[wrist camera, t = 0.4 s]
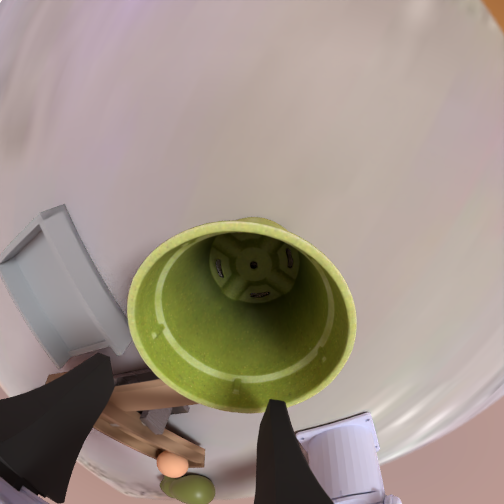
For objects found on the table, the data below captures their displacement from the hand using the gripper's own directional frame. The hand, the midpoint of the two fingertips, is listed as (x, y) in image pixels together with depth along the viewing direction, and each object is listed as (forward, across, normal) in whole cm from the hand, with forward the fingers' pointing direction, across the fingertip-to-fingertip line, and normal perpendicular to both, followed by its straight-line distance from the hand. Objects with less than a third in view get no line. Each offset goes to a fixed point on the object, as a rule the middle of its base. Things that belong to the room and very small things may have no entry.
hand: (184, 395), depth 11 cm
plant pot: (+10, -2, -3) cm, 10 cm away
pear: (+10, +2, +35) cm, 36 cm away
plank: (+6, +4, +13) cm, 15 cm away
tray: (+10, +14, +4) cm, 18 cm away
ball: (+6, +3, +21) cm, 22 cm away
